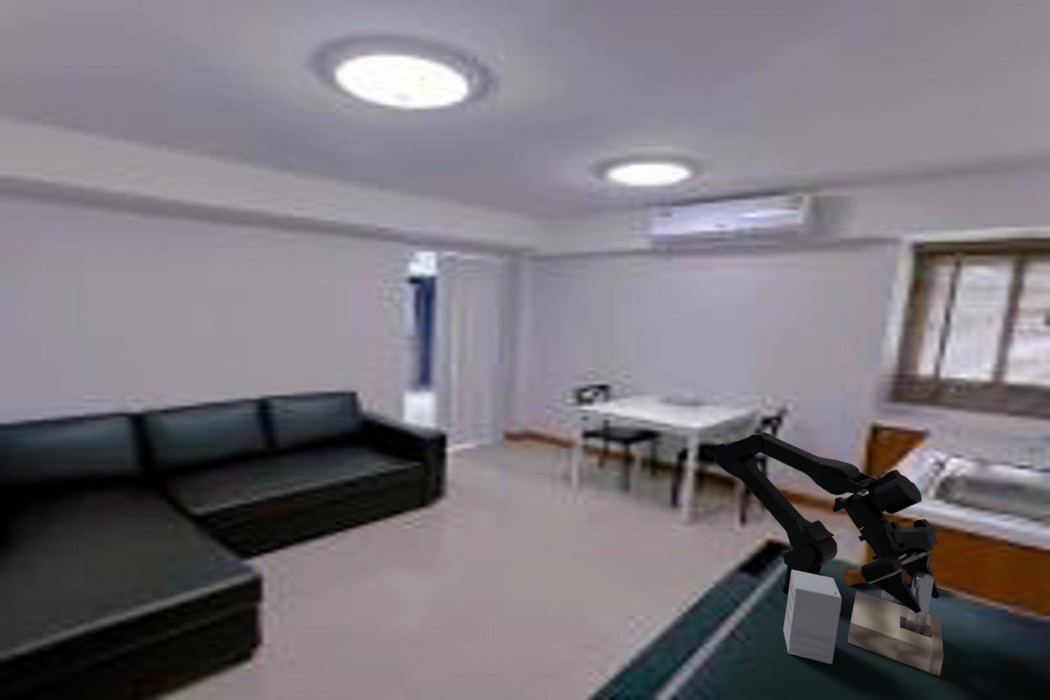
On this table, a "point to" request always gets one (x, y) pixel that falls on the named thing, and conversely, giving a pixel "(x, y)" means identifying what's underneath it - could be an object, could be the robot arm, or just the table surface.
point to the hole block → (895, 634)
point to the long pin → (920, 602)
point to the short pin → (888, 597)
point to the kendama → (856, 578)
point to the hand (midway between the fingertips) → (928, 604)
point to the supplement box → (812, 616)
